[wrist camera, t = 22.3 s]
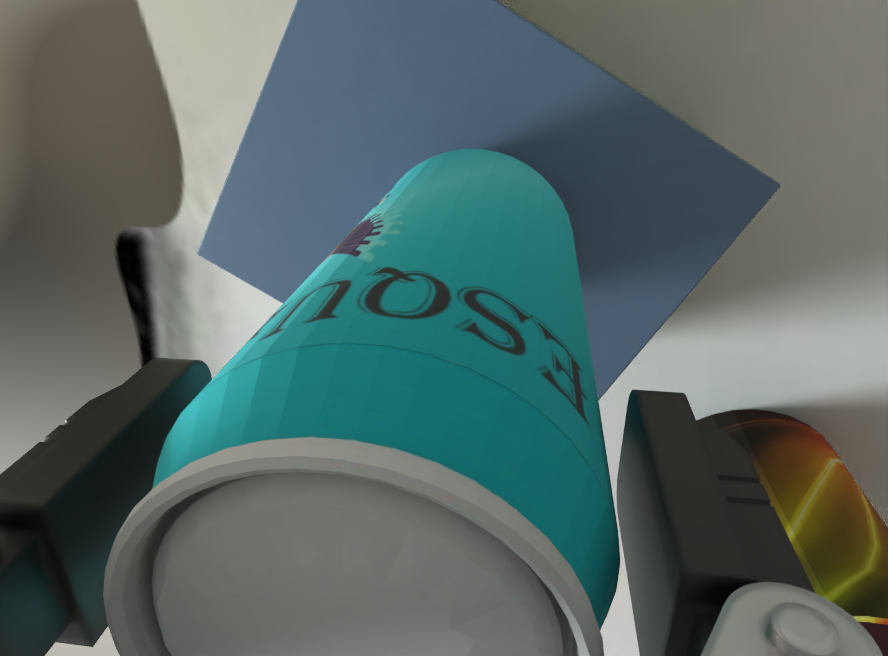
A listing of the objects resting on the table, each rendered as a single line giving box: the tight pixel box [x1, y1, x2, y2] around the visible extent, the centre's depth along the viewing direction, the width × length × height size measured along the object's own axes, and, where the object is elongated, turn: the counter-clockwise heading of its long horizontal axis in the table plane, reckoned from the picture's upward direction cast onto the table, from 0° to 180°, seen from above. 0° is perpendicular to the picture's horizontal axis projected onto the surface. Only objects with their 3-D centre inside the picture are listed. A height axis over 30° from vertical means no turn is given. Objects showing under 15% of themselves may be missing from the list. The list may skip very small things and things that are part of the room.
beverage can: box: [103, 149, 620, 656], centre depth 13 cm, size 6×6×15 cm
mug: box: [696, 410, 888, 656], centre depth 27 cm, size 10×14×12 cm
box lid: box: [197, 0, 780, 400], centre depth 20 cm, size 14×12×1 cm
